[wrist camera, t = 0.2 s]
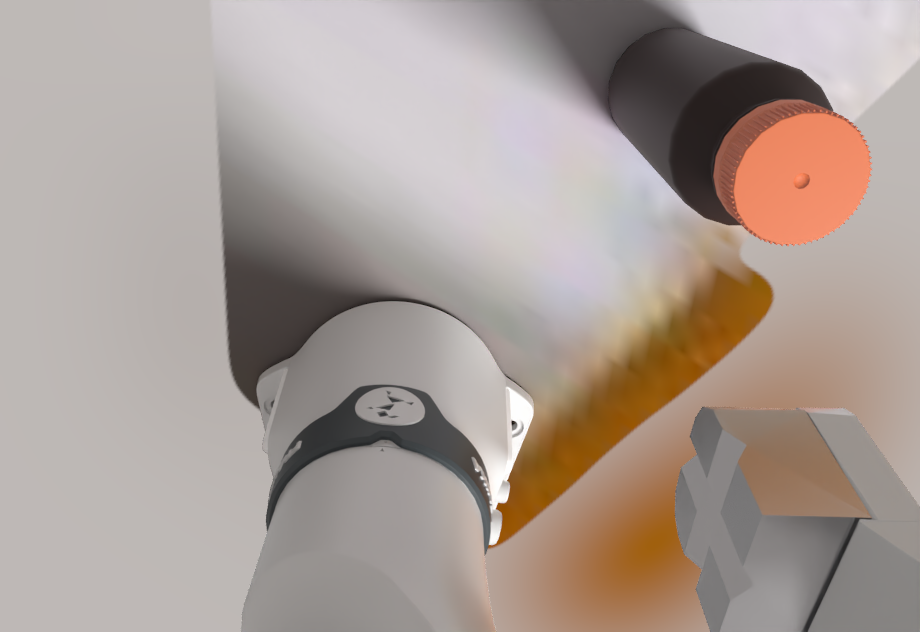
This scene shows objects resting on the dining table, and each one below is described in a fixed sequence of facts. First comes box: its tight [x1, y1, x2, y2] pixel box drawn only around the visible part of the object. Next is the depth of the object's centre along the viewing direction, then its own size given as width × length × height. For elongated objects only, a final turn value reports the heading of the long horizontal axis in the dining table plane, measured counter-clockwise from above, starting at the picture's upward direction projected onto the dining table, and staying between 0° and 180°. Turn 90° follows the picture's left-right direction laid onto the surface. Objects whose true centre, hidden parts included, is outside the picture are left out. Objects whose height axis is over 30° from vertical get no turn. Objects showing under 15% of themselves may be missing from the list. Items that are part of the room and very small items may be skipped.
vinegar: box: [608, 28, 872, 246], centre depth 37 cm, size 7×7×20 cm
